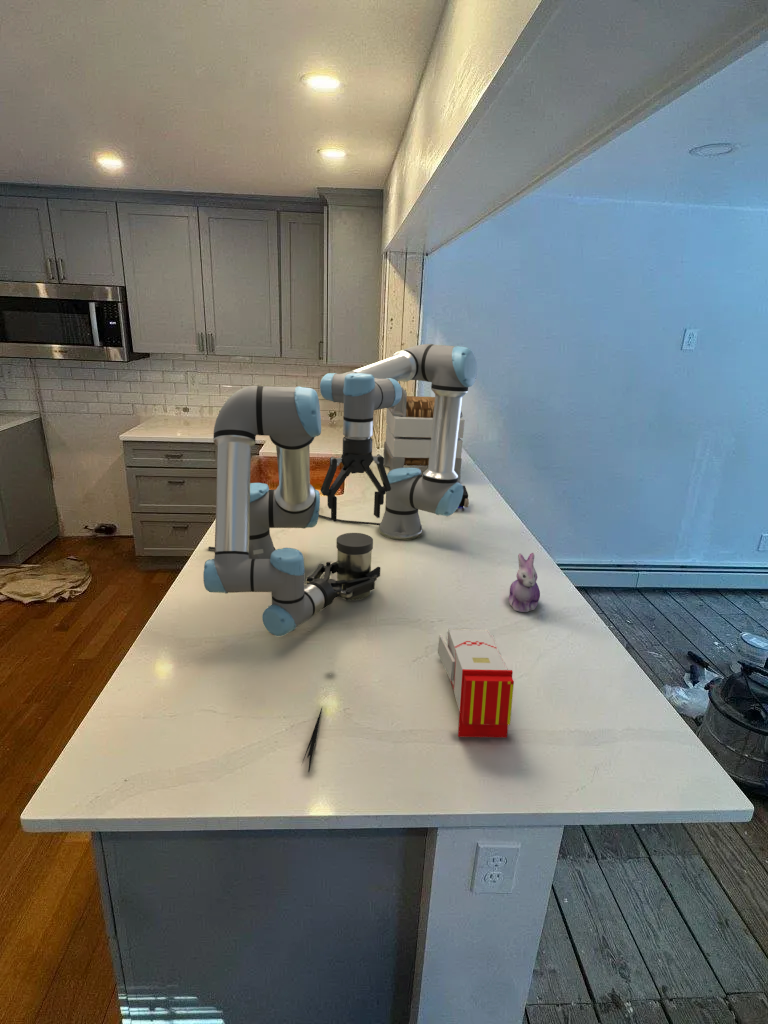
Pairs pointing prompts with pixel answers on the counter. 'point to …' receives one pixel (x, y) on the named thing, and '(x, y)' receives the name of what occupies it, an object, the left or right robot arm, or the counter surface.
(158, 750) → the counter surface
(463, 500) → the figurine character
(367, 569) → the jar
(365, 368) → the right robot arm
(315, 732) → the feather
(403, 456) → the transformer
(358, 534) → the lid
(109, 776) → the counter surface
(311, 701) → the counter surface
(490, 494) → the counter surface
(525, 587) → the figurine
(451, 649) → the toy
